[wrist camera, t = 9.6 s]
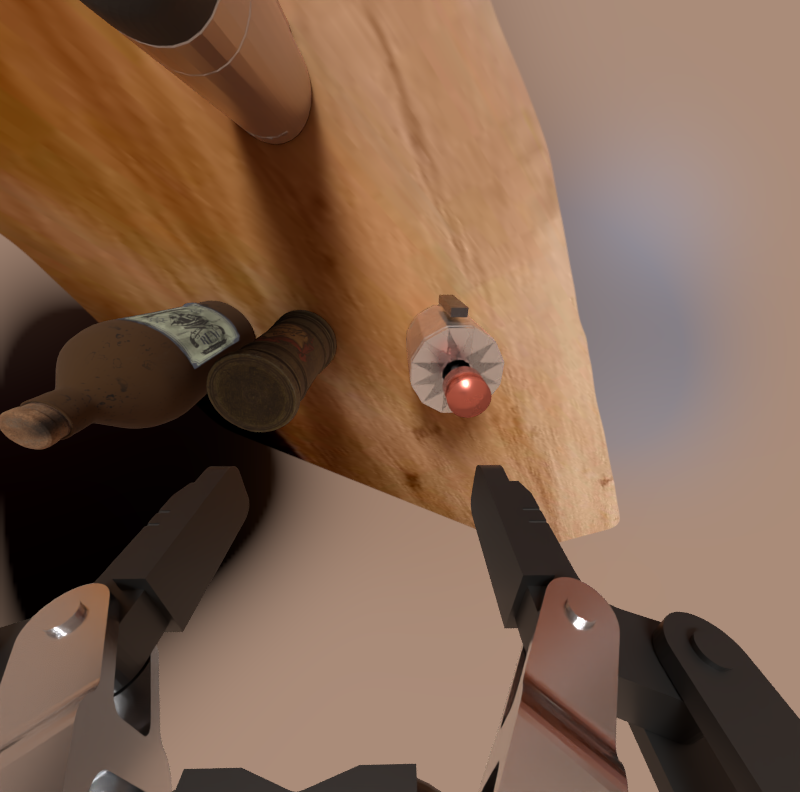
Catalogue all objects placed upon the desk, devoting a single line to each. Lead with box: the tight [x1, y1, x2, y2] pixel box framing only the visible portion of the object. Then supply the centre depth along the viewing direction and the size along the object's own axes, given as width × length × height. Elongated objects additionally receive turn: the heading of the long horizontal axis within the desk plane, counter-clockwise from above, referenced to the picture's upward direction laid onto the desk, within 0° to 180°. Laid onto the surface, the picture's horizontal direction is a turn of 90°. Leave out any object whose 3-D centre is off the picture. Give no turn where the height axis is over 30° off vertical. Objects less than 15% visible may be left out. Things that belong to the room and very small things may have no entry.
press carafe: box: [406, 295, 504, 413], centre depth 36 cm, size 12×10×13 cm
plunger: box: [443, 360, 491, 418], centre depth 33 cm, size 7×7×17 cm
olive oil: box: [0, 301, 255, 449], centre depth 30 cm, size 11×11×25 cm
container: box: [206, 310, 336, 432], centre depth 34 cm, size 9×9×18 cm
